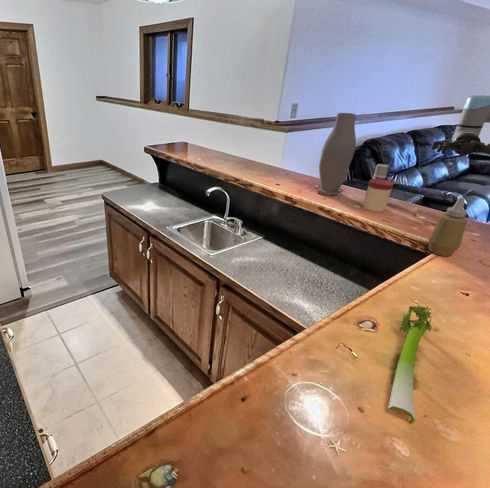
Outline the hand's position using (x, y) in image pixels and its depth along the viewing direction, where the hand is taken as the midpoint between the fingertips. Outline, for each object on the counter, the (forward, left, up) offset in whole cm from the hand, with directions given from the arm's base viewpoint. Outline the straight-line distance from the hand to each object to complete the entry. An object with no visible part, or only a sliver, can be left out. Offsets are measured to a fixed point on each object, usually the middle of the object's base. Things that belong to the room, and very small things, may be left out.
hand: (470, 152), depth 112 cm
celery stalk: (+5, +81, -28) cm, 86 cm away
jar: (+22, -13, -28) cm, 38 cm away
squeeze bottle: (0, +19, -28) cm, 34 cm away
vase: (+42, -23, -28) cm, 56 cm away
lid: (+22, -13, -17) cm, 31 cm away
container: (+24, -27, -28) cm, 46 cm away
